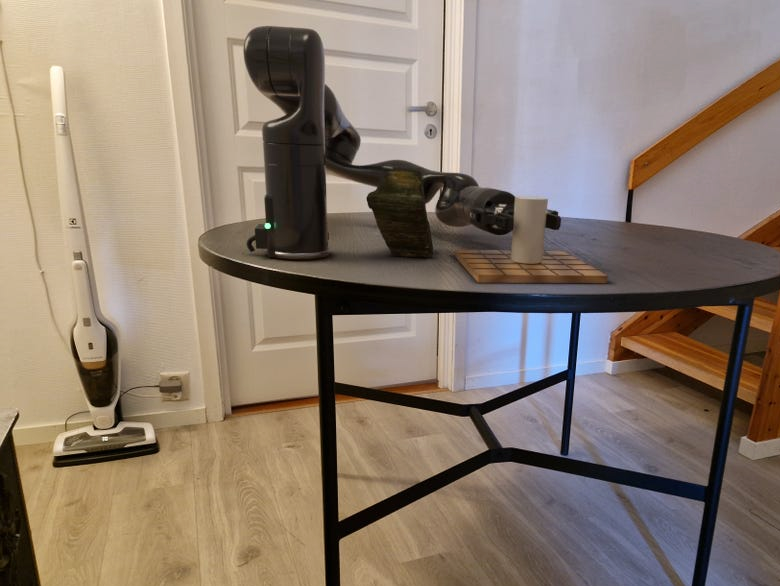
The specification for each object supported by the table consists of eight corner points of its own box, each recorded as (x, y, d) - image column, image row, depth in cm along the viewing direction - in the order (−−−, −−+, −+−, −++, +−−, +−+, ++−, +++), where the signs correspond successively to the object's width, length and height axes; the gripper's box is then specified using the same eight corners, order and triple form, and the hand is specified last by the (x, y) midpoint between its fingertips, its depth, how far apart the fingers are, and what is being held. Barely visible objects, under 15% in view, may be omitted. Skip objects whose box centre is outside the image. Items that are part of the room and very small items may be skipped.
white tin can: (515, 263, 97) (519, 198, 94) (506, 257, 102) (511, 195, 98) (546, 264, 98) (552, 199, 95) (536, 257, 103) (542, 196, 99)
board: (478, 282, 89) (478, 273, 89) (454, 256, 107) (454, 248, 107) (606, 283, 93) (607, 274, 93) (563, 257, 112) (563, 250, 111)
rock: (432, 262, 101) (418, 168, 95) (377, 269, 101) (360, 174, 96) (436, 246, 112) (424, 161, 107) (387, 252, 113) (373, 167, 107)
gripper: (524, 231, 114) (571, 246, 100) (453, 232, 108) (492, 248, 94) (528, 189, 111) (576, 199, 98) (454, 188, 106) (495, 198, 92)
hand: (535, 223), depth 96 cm, fingers open, 8 cm apart
